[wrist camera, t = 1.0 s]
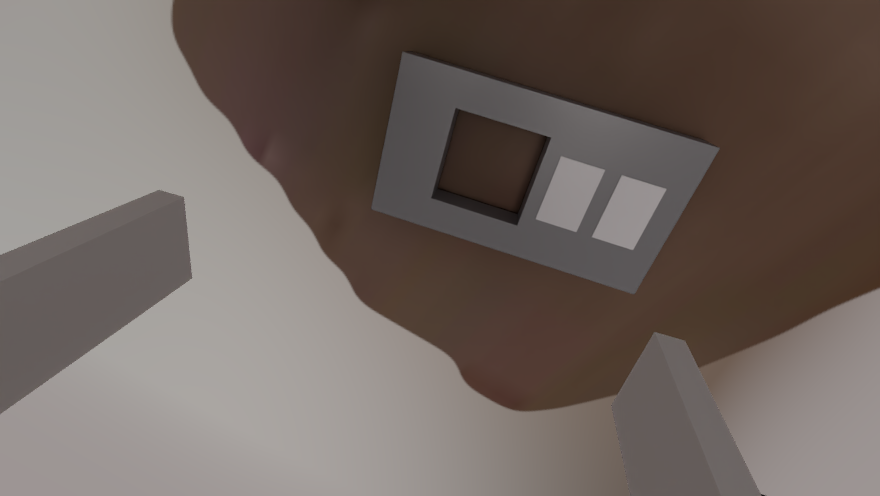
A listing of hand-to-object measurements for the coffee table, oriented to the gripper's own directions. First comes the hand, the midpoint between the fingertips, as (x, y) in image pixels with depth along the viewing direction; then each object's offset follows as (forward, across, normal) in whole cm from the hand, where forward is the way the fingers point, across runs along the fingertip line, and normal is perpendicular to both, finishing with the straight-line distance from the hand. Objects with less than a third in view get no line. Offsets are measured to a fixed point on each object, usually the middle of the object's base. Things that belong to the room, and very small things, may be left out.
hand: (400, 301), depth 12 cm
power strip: (+24, +4, -2) cm, 24 cm away
